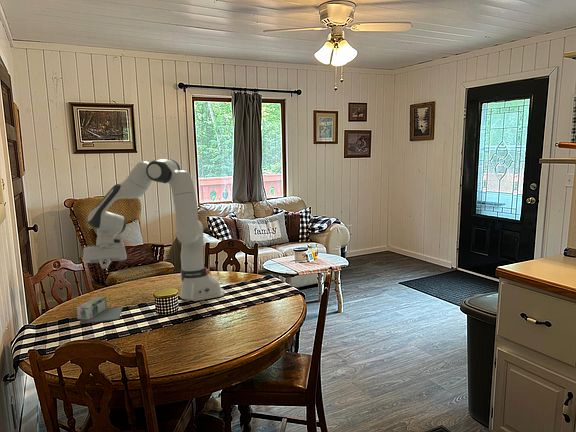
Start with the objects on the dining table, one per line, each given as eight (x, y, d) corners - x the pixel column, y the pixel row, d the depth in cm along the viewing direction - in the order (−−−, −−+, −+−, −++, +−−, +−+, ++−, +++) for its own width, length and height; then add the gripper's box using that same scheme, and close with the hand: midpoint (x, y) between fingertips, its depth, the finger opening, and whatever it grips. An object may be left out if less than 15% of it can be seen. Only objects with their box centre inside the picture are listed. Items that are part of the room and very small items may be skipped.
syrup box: (107, 308, 202) (89, 319, 187) (96, 308, 202) (76, 319, 188) (106, 296, 201) (87, 307, 187) (95, 296, 202) (75, 307, 188)
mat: (122, 307, 203) (122, 306, 203) (119, 319, 188) (119, 318, 188) (86, 311, 199) (85, 311, 199) (79, 324, 183) (79, 323, 183)
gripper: (82, 243, 213) (80, 266, 205) (125, 239, 219) (125, 262, 211) (84, 250, 218) (83, 273, 210) (127, 246, 224) (127, 269, 216)
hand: (104, 267), depth 211 cm, fingers closed
